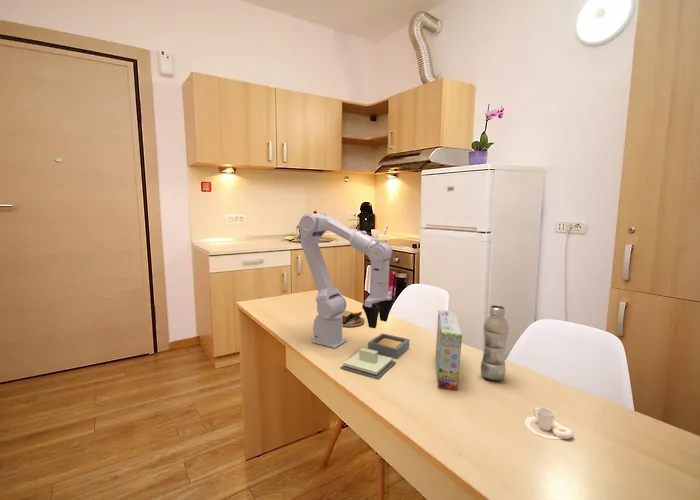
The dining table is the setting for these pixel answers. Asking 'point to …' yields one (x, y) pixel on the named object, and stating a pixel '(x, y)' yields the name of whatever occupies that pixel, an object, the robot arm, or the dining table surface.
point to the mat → (370, 373)
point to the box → (389, 345)
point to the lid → (368, 361)
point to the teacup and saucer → (548, 424)
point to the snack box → (448, 350)
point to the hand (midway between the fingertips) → (378, 324)
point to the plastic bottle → (495, 344)
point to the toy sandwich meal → (352, 319)
